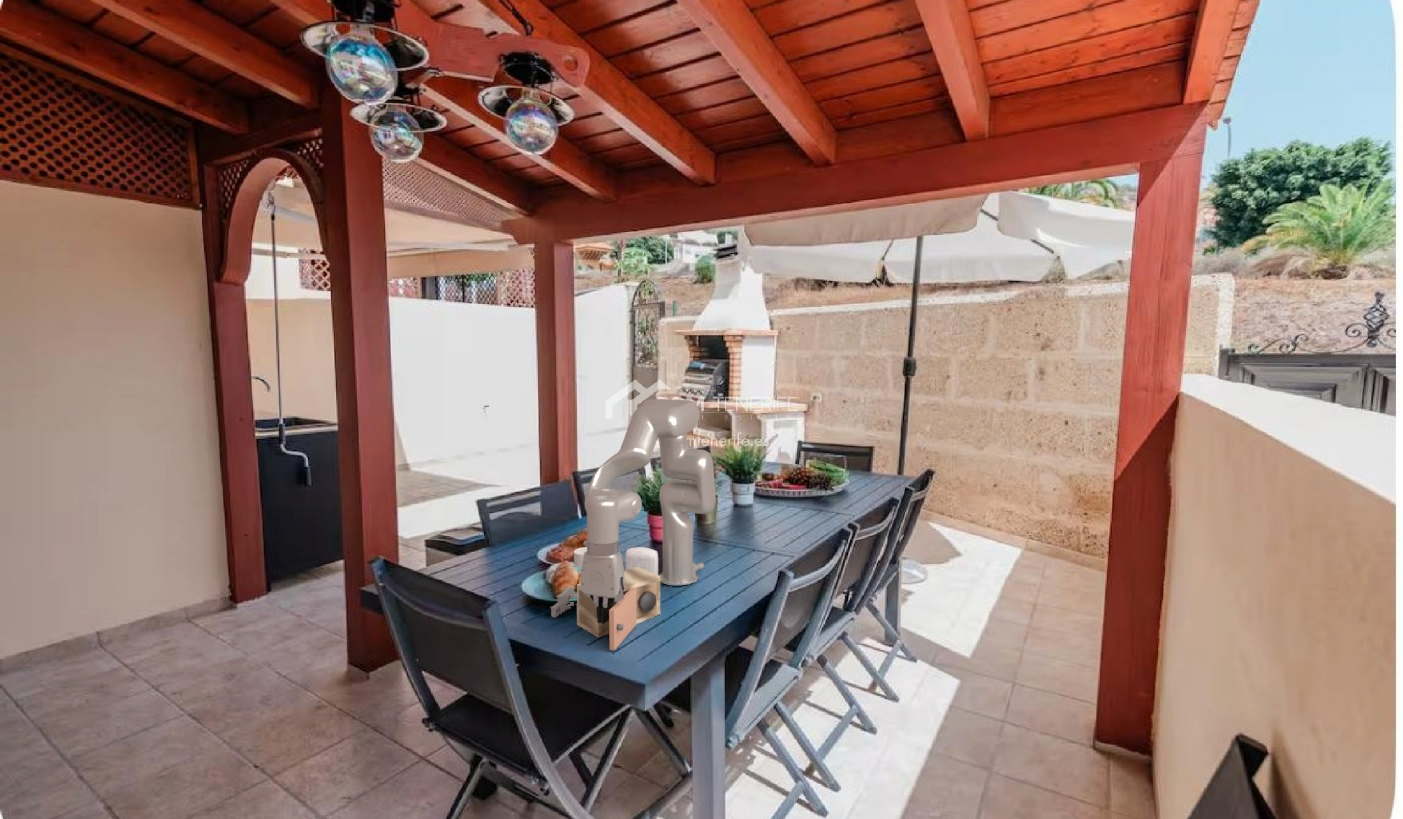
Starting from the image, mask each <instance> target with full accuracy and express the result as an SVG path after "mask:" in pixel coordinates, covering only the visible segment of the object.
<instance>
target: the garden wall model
mask: <svg viewBox="0 0 1403 819" xmlns="http://www.w3.org/2000/svg"><path fill="white" fill-rule="evenodd" d="M574 589H575V588H572V586H566V587H565V588H564V589H563V590H562V591H561V592H560V593H559V594H557V595H556V596H555V597H556V598H557V603H555V604H553V606H549V608H550V610H551V612H550V614H551V618H557V617H558V616H560V615H561V614H563V613H565V612H566V611H567V610H570V609H571V607H570V606H573V607H574V606H575V605H574V602H569V600H568V598H569V597H568V596H569V595H570V594H574V593H573V591H574ZM568 603H570V604H568ZM567 604H568V605H567ZM565 610H566V611H565ZM562 612H563V613H562ZM559 614H560V615H559Z"/></svg>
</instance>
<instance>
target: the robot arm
mask: <svg viewBox="0 0 1403 819" xmlns="http://www.w3.org/2000/svg"><path fill="white" fill-rule="evenodd" d="M700 412H701V411H700V408H699V406H698V405H697V403H696V402H695V401H694V400H688V399H687V400H686V399H666V398H664V399H663V398H660V399H658V398H654V399H653V398H652V399H651V398H650V399H647V400H645V401H644V402H642V404H641V406H640V407H638V408H636V409H635V410H634V412H633V413H632V416H631V419H630V421H629V423H628V427H627V430H626V432H625V435H624V438H623V441H622V443H621V446H620V448H619V451H618V452H617V453H615V454H613V455H612V456H611V457H609V458H608V459H607V460H606V461H605V462H604V463H603V464H601V465H600V466H599V467H598V468H597V470H596V471H595V472H594V474H593V475H592V478H591V480H590V483H589V485H588V487H587V491H586V494H585V498H584V509H585V511H586V536H587V537H586V538H587V539H585V540H584V541H583V543H582V544H583V546H585V547H587V552H585V553H584V557H583V562H582V569H581V591H582V592H583V593H584V595H586V596H588V597H591V599H592V600H593V601H594V605H595V606H596V607H597V622H598V623H602V624H604V623H606V622H607V621H608V620H609V610H610V609H611V604H612V603H613V602H617V601H621V600H623V599H624V595H623V591H624V589H625V576H624V571H625V567H624V566H625V565H624V560H623V556H622V553H621V552H620V547H619V546H620V544H619V542H620V538H619V537H620V530H619V529H620V528H619V526H620V524H621V523H625V522H630V521H632V520H634V519H637V517H638V516H639V514H640V513H641V511H642V507H643V502H642V498H641V496H640V495H639V494H638V493H637V492H635V491H631V490H626V489H617V488H609V486H610V485H611V484H612V483H613V482H614V481H615V480H617V479H618V478H620V477H621V476H623V475H626V474H629V473H632V472H635V471H637V470H639V469H641V468H642V469H643V468H644V467H646V466H647V465H649V463H650V462H651V459H652V456H653V452H654V450H655V446H656V444H657V441H658V443H659V444H658V445H659V454H660V455H659V456H660V464H661V465H660V466H661V470H662V474H663V475H664V477H666V478H668V479H672V480H670V481H666V482H665V483H663V484H662V485H661V486H660V490H659V495H658V496H659V503H660V508H661V515H662V572H661V573H658V575H659V576H660V582H661V583H664V584H667V585H686V584H690V583H693V582H696V581H697V579H698V580H699V576H698V574H697V573H696V572H697V571H698V570H702V569H704V568H705V565H704V562H699V563H697V564H696V563H695V562H694V524H693V521H692V518H691V517H690V515H689V514H698V515H699V514H700V515H706V514H710V513H711V512H713V511H714V509H715V506H716V501H717V500H716V498H717V497H716V485H715V469H714V468H715V467H714V460H713V458H712V455H711V453H709V451H707V450H704V449H695V448H690V447H689V446H688V437H687V434H688V433H689V432H691V431H693V430H694V429H695V428H696V427H697V425H698V423H699V420H700ZM697 582H698V581H697ZM697 582H696V583H697ZM661 583H660V584H661Z"/></svg>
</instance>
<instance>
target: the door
mask: <svg viewBox="0 0 1403 819" xmlns="http://www.w3.org/2000/svg"><path fill="white" fill-rule="evenodd" d="M636 626H637V624H636V588H631V589H630V590H629V591H628V592H627V593H626V594H625V595H624V599H623V600H621V601H618V602H617V603H616V604H615V605H614V606H613V607H612V608H611V609H610V610H609V633H610V634H609V651H615V650H616V649H617V648H618V647H619V646H620V644H622V642H623V641H624V640H625V639H626V638H627V636H628V635H629V634H630V633H631V632H632V630H633V629H634V628H635V627H636Z"/></svg>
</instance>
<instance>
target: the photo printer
mask: <svg viewBox="0 0 1403 819" xmlns="http://www.w3.org/2000/svg"><path fill="white" fill-rule="evenodd" d="M624 566H625V567H624V571H625V570H629V569H632V568H636V567H639V568H642V569H644V570H647V571H649V572H652V573H654V574H656V575H659V553H658V551H657V550H655V549H652V548H649V547H645V546H644V547H643V546H638V547H635V546H634V547H631V548H630V547H629V548H628V549H626V553H625V565H624Z"/></svg>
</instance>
